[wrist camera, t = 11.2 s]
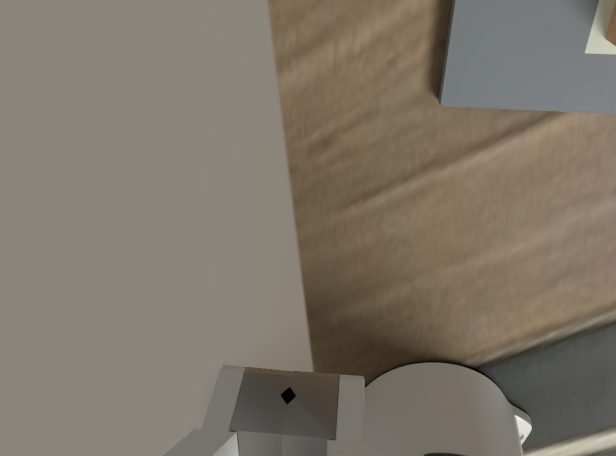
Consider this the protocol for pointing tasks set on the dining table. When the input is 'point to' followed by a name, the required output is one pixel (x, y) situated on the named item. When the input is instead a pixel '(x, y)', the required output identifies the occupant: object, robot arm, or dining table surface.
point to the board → (530, 56)
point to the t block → (612, 28)
